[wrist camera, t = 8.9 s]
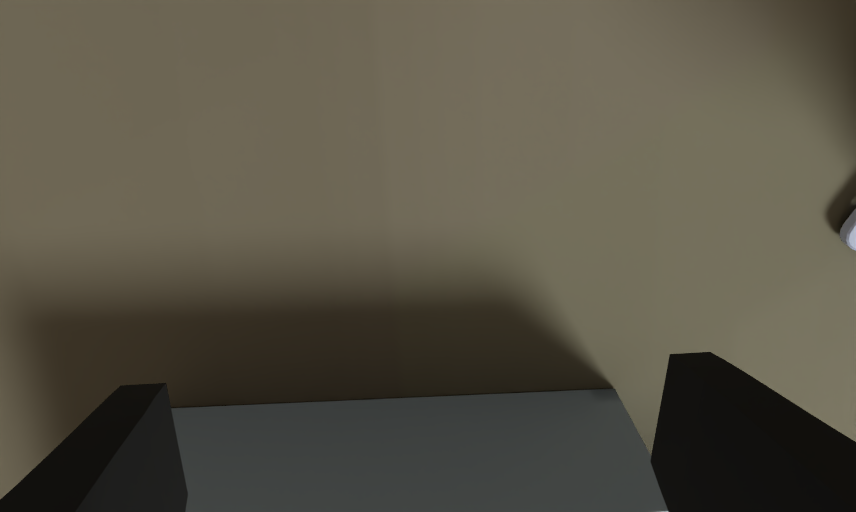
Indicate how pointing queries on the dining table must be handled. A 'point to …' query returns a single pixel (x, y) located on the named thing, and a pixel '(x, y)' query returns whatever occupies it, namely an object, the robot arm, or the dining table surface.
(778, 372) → the dining table surface
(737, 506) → the robot arm
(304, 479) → the tote
